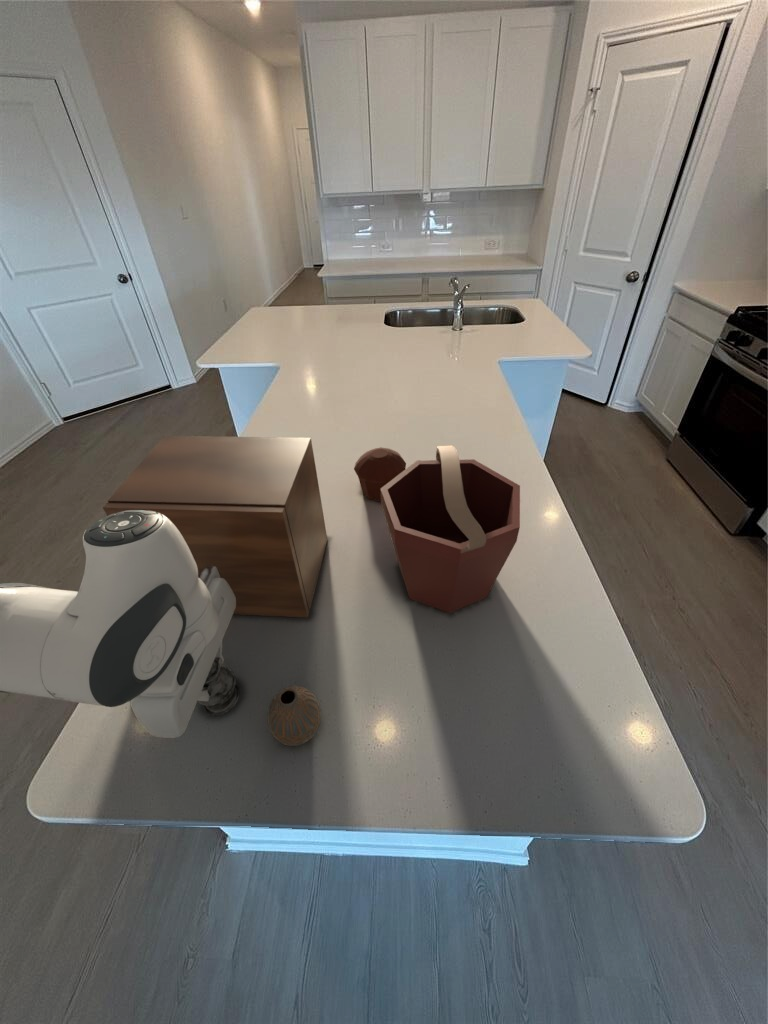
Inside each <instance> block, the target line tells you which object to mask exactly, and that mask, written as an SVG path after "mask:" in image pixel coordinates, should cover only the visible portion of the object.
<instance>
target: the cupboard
mask: <svg viewBox="0 0 768 1024" xmlns="http://www.w3.org/2000/svg"><path fill="white" fill-rule="evenodd" d="M319 485H320V484H319V479H318V473H317V467H316V460H315V455H314V448H313V441H312V437H300V436H299V437H297V436H296V437H295V436H294V437H291V436H289V437H286V436H284V437H283V436H278V437H277V436H207V435H206V436H202V435H200V436H199V435H197V436H196V435H195V436H193V435H164V436H163V437H162V438H161V439H160V441H159V442H157V444H156V445H155V446H154V447H153V448H152V449H151V450H150V452H149V453H148V454H147V455H146V456H145V457H144V458H143V460H142V461H141V462H140V463H139V464H138V465H137V466H136V468H135V469H134V470H133V471H132V472H131V473H130V474H129V476H127V478H126V479H125V480H124V481H123V483H121V485H120V486H119V487H118V488H117V489H116V490H115V492H113V493H112V495H111V496H110V497H109V498H108V499H107V503H142V504H180V505H219V506H258V507H285V512H286V516H287V520H288V525H289V529H290V533H291V537H292V542H293V546H294V550H295V554H296V559H297V563H298V567H299V572H300V576H301V580H302V584H303V589H304V593H305V597H306V601H307V606H308V610H309V612H310V610H311V607H312V602H313V599H314V594H315V592H316V586H317V583H318V579H319V574H320V572H321V566H322V564H323V558H324V554H325V550H326V546H327V542H328V535H327V529H326V523H325V522H326V521H325V516H324V510H323V504H322V498H321V492H320V486H319Z"/></svg>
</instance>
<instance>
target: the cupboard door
mask: <svg viewBox="0 0 768 1024" xmlns="http://www.w3.org/2000/svg"><path fill="white" fill-rule="evenodd" d="M102 509H103V511H104V513H105V514H106V516H108V515H111V514H115V513H119V512H123V511H127V510H146V511H154V512H158V513H161V514H163V515H164V516H166V517H167V518H168V519H169V520H170V521H171V522H172V523H173V524H174V525H175V526H176V528H177V529H178V530H179V532H180V533H181V535H182V536H183V538H184V540H185V542H186V543H187V545H188V547H189V549H190V551H191V553H192V555H193V558H194V560H195V562H196V565H197V568H198V578H200V574H201V572H202V570H203V569H204V568H205V567H208V566H210V565H213V566H215V567H216V568H217V570H218V572H219V575H220V578H223V579H225V580H226V581H227V583H228V584H229V586H230V588H231V589H232V591H233V593H234V595H235V597H236V608H235V610H234V613H233V615H243V616H265V617H267V616H268V617H286V618H287V617H288V618H289V617H290V618H308V617H309V613H310V611H309V610H308V606H307V601H306V597H305V593H304V589H303V584H302V580H301V576H300V572H299V567H298V563H297V559H296V554H295V550H294V546H293V542H292V537H291V533H290V529H289V525H288V520H287V516H286V512H285V507H258V506H219V505H180V504H142V503H108V502H106V503H105V504H104V506H102Z"/></svg>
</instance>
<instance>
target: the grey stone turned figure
mask: <svg viewBox="0 0 768 1024" xmlns="http://www.w3.org/2000/svg"><path fill="white" fill-rule="evenodd" d="M236 682H237V678H236V675H235V673H234V671H233V670H232V669H231V668H228V667H226V666H222V667H221V669H220V664H219V662H218V661H216V660H214V662H213V664H212V667H211V669H210V672H209V674H208V676H207V679H206V681H205V684H204V685H210V686H211V689H212V693H211V696H210V698H209V701H197V703H198V705H199V704H200V705H201V706H202V707H203V710H204V711H205V712H206V713H207V714H209V715H210V716H211V715H212V716H221V715H224V714H226V713H228V712H229V711H231V710H232V709H233V708H234V707H235V706H236V704H237V703H238V701H239V699H240V695H241V694H240V688H239V686H238V684H236Z"/></svg>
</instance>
